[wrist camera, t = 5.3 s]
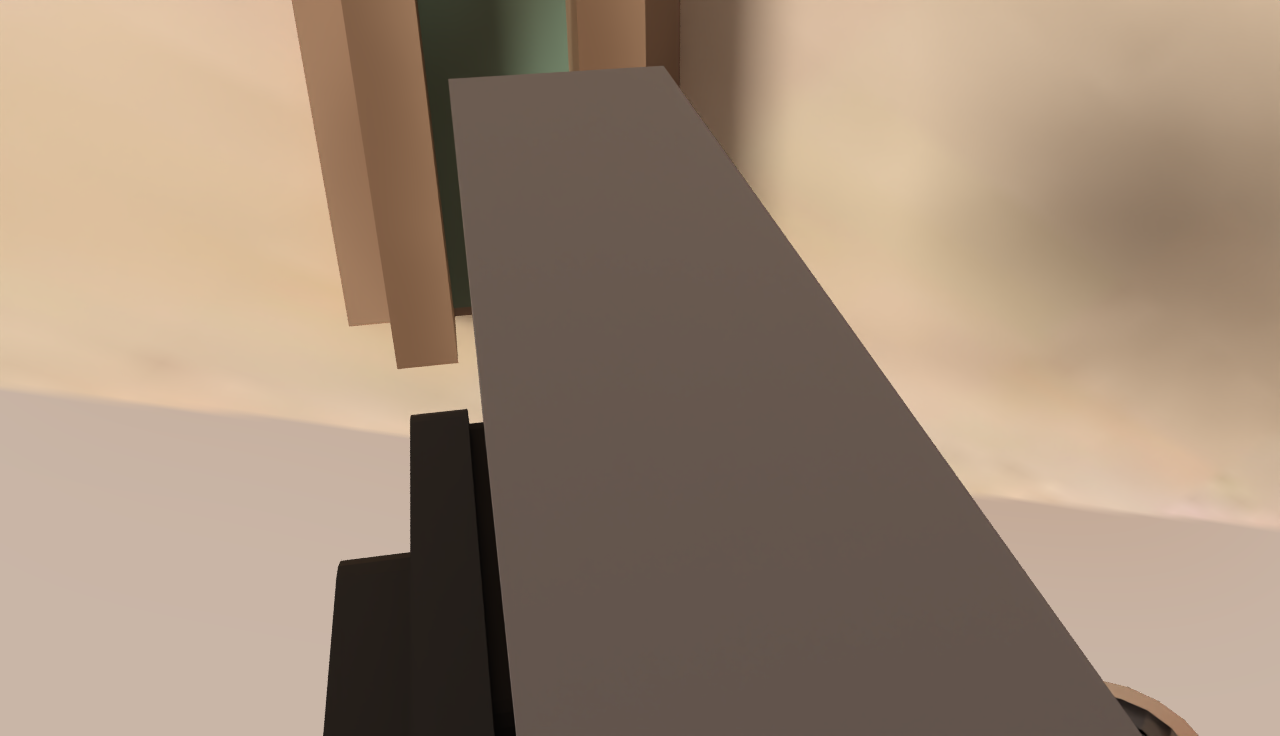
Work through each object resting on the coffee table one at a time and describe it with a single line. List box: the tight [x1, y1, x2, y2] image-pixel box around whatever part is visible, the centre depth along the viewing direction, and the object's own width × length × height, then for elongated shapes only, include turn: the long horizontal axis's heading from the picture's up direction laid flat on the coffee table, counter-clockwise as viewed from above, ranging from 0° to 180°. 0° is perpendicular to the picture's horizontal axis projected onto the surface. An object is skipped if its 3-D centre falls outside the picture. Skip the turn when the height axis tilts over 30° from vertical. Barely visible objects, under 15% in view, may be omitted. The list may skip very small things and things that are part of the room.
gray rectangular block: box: [448, 66, 1142, 736], centre depth 10 cm, size 3×7×10 cm, turn 1°
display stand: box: [292, 0, 680, 369], centre depth 26 cm, size 9×14×4 cm, turn 1°
